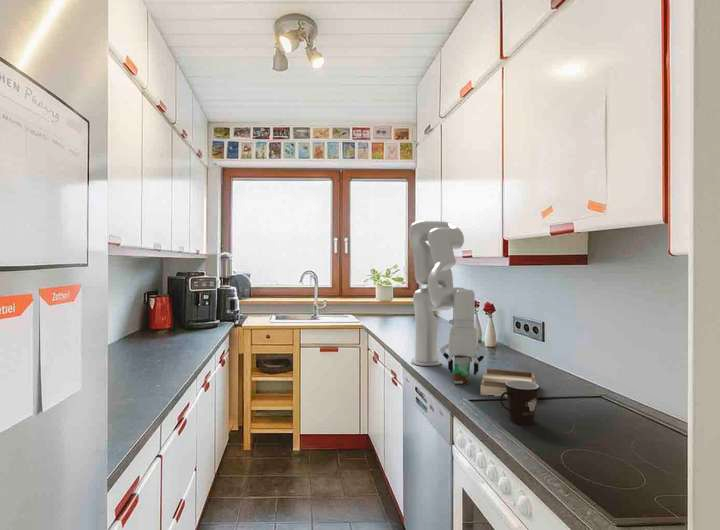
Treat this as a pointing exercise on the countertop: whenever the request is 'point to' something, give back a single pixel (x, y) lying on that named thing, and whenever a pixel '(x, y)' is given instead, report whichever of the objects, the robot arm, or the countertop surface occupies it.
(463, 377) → the food container
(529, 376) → the dock
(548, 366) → the countertop surface
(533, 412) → the coffee mug
